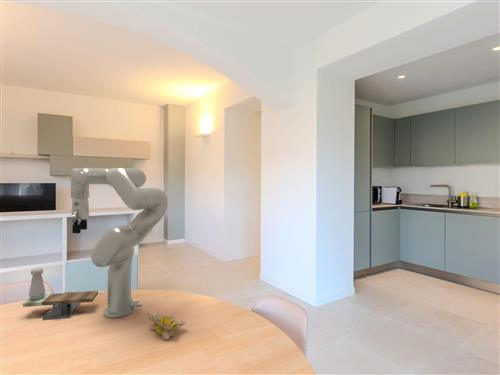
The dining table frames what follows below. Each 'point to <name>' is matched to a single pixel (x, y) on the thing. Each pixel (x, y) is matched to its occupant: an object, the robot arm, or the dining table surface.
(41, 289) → the salt shaker
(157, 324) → the decorative flower
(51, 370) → the dining table surface
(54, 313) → the beam stand
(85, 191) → the robot arm
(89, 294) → the balance beam
